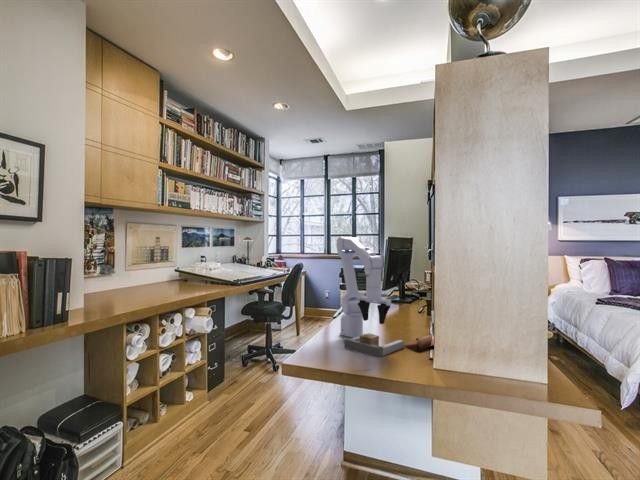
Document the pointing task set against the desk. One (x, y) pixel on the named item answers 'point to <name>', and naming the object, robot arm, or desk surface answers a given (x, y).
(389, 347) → the bay
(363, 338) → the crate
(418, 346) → the sunglasses case
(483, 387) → the desk surface
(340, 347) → the desk surface
